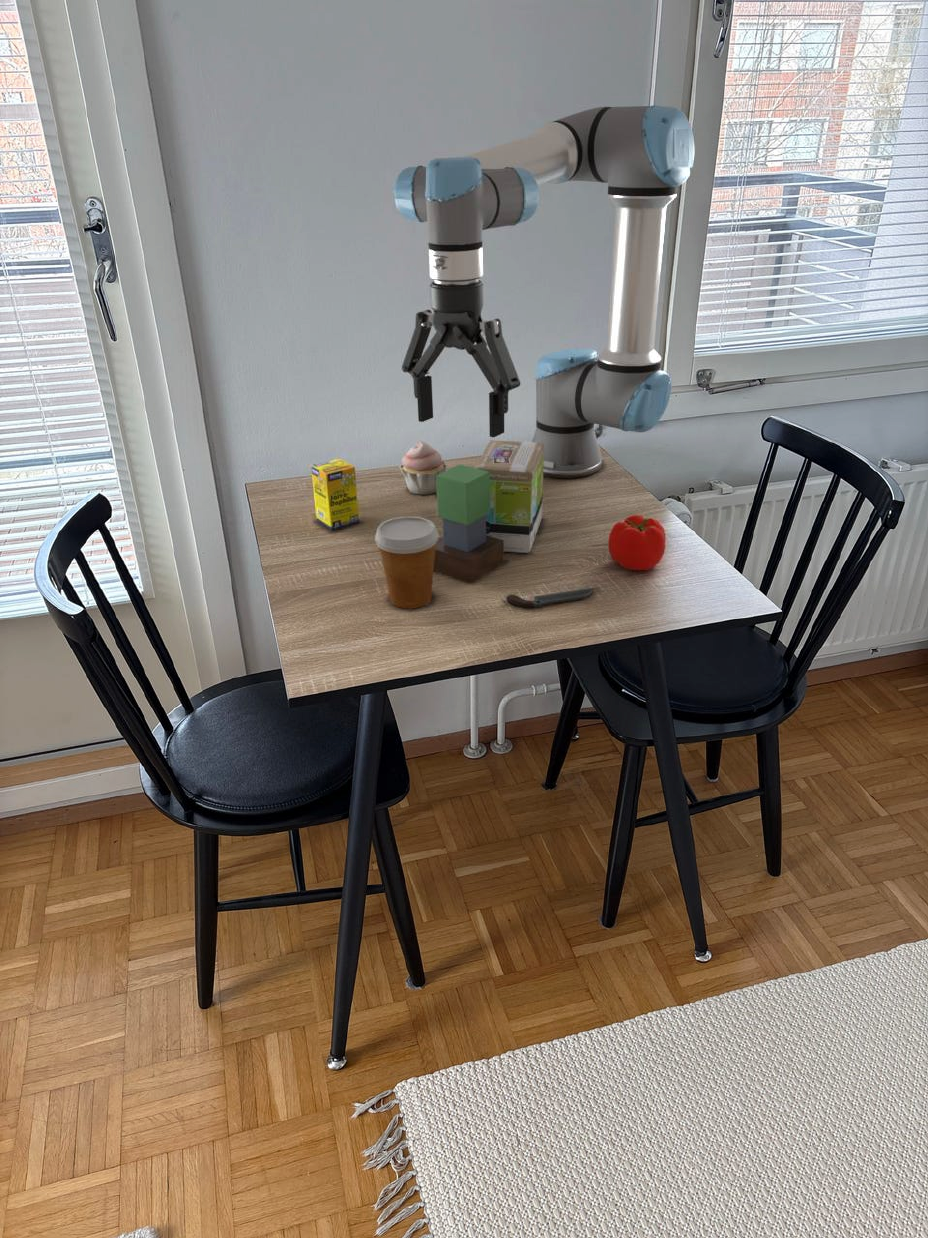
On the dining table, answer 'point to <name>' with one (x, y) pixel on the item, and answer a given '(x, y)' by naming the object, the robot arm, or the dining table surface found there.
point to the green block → (463, 494)
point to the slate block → (464, 534)
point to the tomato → (637, 543)
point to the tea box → (514, 492)
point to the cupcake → (422, 468)
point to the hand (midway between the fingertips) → (460, 427)
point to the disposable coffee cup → (408, 559)
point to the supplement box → (335, 494)
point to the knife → (550, 598)
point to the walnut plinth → (468, 559)
